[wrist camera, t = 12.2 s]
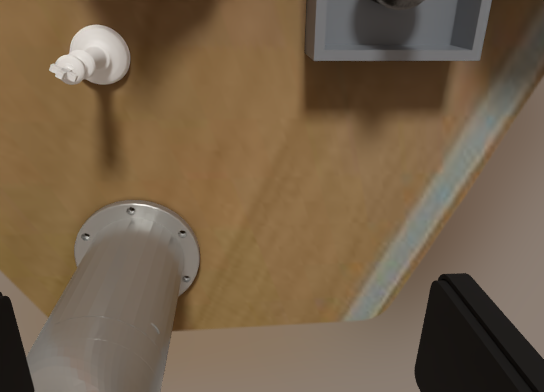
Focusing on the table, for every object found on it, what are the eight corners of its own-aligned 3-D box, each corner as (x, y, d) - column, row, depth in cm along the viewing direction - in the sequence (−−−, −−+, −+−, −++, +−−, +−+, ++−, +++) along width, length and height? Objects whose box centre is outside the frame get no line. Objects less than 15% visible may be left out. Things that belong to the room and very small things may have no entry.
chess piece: (81, 13, 36) (31, 20, 27) (138, 42, 38) (108, 58, 29) (63, 67, 38) (10, 91, 29) (119, 93, 39) (84, 124, 30)
